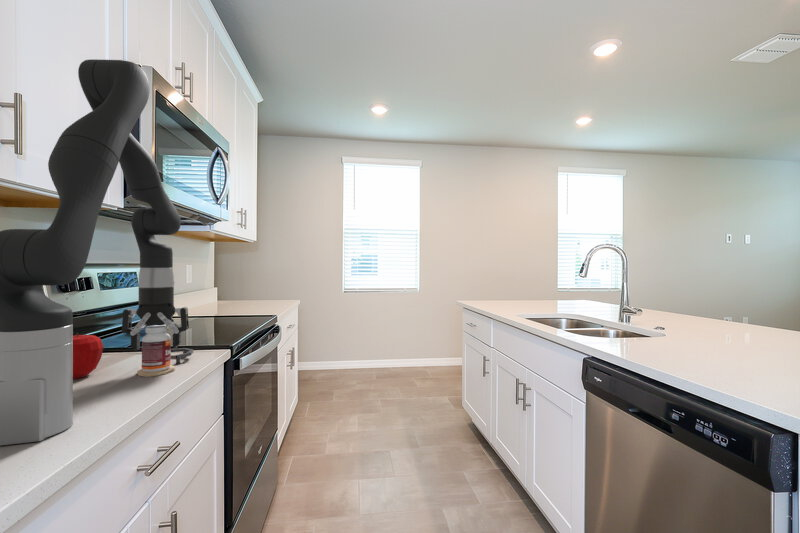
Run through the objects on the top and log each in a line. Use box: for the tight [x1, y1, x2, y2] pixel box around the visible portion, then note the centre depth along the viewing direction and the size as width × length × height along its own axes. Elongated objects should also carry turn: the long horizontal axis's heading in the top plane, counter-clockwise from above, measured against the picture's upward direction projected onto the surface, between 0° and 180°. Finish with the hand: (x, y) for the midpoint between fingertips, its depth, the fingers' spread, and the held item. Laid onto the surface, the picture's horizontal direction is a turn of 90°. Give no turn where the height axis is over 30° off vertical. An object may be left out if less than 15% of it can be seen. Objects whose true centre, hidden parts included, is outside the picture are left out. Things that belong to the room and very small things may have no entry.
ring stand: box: [171, 347, 195, 365], centre depth 105 cm, size 10×10×2 cm
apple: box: [73, 332, 104, 380], centre depth 90 cm, size 10×10×11 cm
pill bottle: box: [141, 324, 172, 372], centre depth 94 cm, size 6×6×11 cm
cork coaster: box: [136, 365, 176, 377], centre depth 94 cm, size 8×8×1 cm
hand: (156, 348), depth 94 cm, fingers open, 8 cm apart
